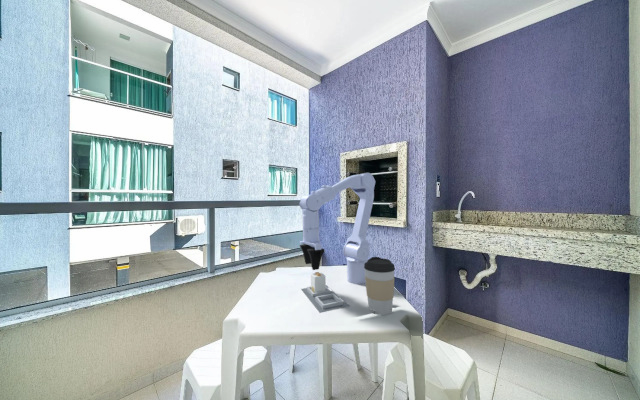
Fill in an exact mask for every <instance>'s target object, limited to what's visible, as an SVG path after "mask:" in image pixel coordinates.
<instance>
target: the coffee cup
mask: <svg viewBox="0 0 640 400" xmlns="http://www.w3.org/2000/svg"><path fill="white" fill-rule="evenodd" d="M364 268H365V281H366V283H365V289H366V290H365V291H366V296H367V307H368V308H369V310H371V311H373V312H372V314H375V315H378V316H387V315H390V314H391V313H392V312H393V300H394V295H395V294H394V293H395V292H394V291H395V290H394V289H395V270H396V267H395V264H394V263H393V262H392V261H391V260H390V259H387V258H381V257H379V256H372V257H371V258H369V259H368V261H367V262H366V263H365V264H364Z"/></svg>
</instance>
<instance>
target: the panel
mask: <svg viewBox="0 0 640 400" xmlns="http://www.w3.org/2000/svg"><path fill="white" fill-rule="evenodd" d="M300 290H301V291H302V293H303V294H304V295H305V296H306V297H307V299H308V300H309V302H311V304H312V305H313V306H314V307H315V308H316V310H317V311H318V313H319V314H321V313H325V312H326V313H327V312H329V311H333V310H334V311H335V310H339V309H344V308H347V307H351V305H350V304H349V303H348V302H346V301H345V300H344V299H343V298H342V297H340V296H339V295H338V293H336V292H335V291H334V290H333V289H331V288H330V287H329V286H328V285H327V284H326V291H322V292H317V293H313V292H312V291H311V285H310V286H307V287H304V288H300Z"/></svg>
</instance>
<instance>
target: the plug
mask: <svg viewBox="0 0 640 400" xmlns="http://www.w3.org/2000/svg"><path fill="white" fill-rule="evenodd" d="M326 285H327V284H326V275H325V274H324V273H322V272H319V271H316V272H314V273H311V274H310V286H311V291H312V292H313V293H317V292H322V291H326Z"/></svg>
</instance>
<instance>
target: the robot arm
mask: <svg viewBox="0 0 640 400" xmlns="http://www.w3.org/2000/svg"><path fill="white" fill-rule="evenodd" d="M375 185H376V180H375V178H374V176H373V174H372V173H370V172H364V173H360V174H359V173H358V174H353V175H349V176H347V177H345V178H343V179H342V180H340V181H338V182H336V183H335V184H333V185H326V184H323V185H321V186H320V188H319V189H317V190H311V191H310V194H307V195H306V194H305V195H303V196H302V197H301V199H300V201H299V202H298V205H299V208H300V209H301V211H302V240H300V241H299V244H300V245H299V248H300V249H301V252H302V254H303V258H304V262H305V265H310V264H311V269H312V271H316V270H317V271H318V270H319V269H320V265H321V260H322V257H323V255H324V252H325V248H322V243H321V240H320V225H319V224H320V222H319V221H320V220H319V219H320V218H319V217H320V216H319V210H320V209H321V207H322V206H324V205H325V204H327V203H329V202H331V201H333V200H334V199H335V198H336V194H339V193H341V192H342V191H344V190H347V189H348V188H350V189H351V191H352V192H354V194H356V195H357V196H358V197H359V202H358V207H357V211H356V216H355V219H354V225H353V227H352V228H353V229H352V233H351V235H350V236H348V238H347V239H346V242H345V244H344V246H343V247H342V248H343V249H342V254H344V256H345V259H346V266H347V267H346V269H347V271H346V273H347V274H346V275H347V276H346V277H347V282H348V283H350V284H351V285H352V284H353V285H354V284H355V285H362V284H366V281H365V268H364V264H365V263H366V262H367V261H368V260H369V259H368V258H369V256H370V248H369V247H370V243H369V241H368V239H366V236H367V232H368V229H369V223H370V218H371V213H372V209H373V204H374V199H375V191H374V190H375Z"/></svg>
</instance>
